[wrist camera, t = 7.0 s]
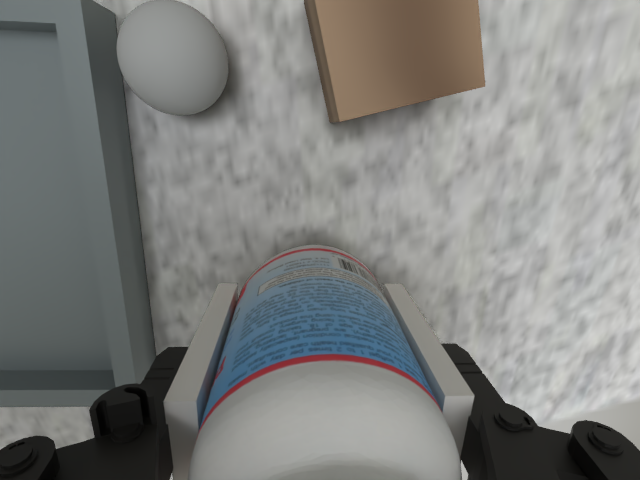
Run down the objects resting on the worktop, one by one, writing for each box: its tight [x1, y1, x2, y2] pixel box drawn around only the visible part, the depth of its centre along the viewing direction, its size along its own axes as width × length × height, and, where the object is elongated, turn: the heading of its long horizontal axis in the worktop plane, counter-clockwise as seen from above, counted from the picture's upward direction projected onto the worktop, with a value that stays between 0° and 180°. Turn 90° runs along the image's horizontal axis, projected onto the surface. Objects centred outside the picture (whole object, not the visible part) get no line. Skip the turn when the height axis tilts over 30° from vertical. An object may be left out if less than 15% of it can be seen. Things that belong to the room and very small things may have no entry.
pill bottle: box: [188, 245, 462, 480], centre depth 10 cm, size 6×6×11 cm
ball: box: [117, 0, 228, 115], centre depth 14 cm, size 4×4×4 cm
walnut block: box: [304, 0, 485, 123], centre depth 14 cm, size 5×5×5 cm
